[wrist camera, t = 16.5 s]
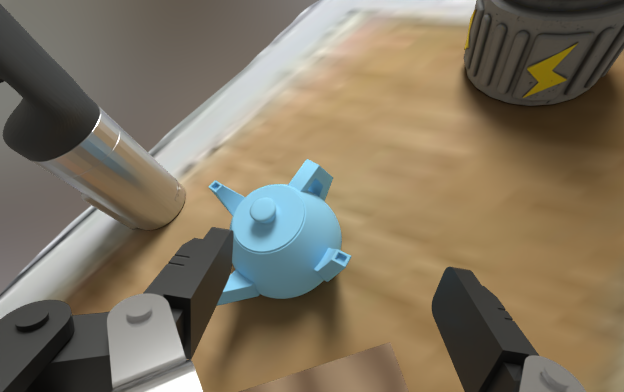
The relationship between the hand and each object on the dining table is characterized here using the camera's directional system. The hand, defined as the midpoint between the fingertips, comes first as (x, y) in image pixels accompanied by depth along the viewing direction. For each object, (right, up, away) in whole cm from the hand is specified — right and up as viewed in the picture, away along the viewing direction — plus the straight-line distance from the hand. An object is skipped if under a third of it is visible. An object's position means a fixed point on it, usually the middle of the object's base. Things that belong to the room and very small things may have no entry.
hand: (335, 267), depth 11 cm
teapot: (-4, -4, +28) cm, 29 cm away
